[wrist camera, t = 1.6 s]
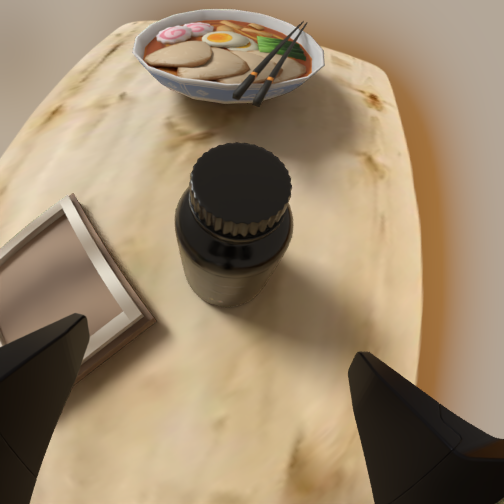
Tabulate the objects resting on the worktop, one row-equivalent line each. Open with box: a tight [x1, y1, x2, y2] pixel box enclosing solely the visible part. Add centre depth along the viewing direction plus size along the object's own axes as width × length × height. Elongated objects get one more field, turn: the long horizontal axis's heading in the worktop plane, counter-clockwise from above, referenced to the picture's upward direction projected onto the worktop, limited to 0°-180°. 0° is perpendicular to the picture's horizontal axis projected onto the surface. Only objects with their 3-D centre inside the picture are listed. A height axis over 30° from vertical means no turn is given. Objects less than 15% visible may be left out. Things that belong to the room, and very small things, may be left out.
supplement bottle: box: [175, 142, 293, 307], centre depth 19 cm, size 7×7×12 cm
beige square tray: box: [0, 193, 156, 386], centre depth 19 cm, size 14×14×2 cm
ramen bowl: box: [133, 9, 325, 107], centre depth 31 cm, size 25×23×8 cm
